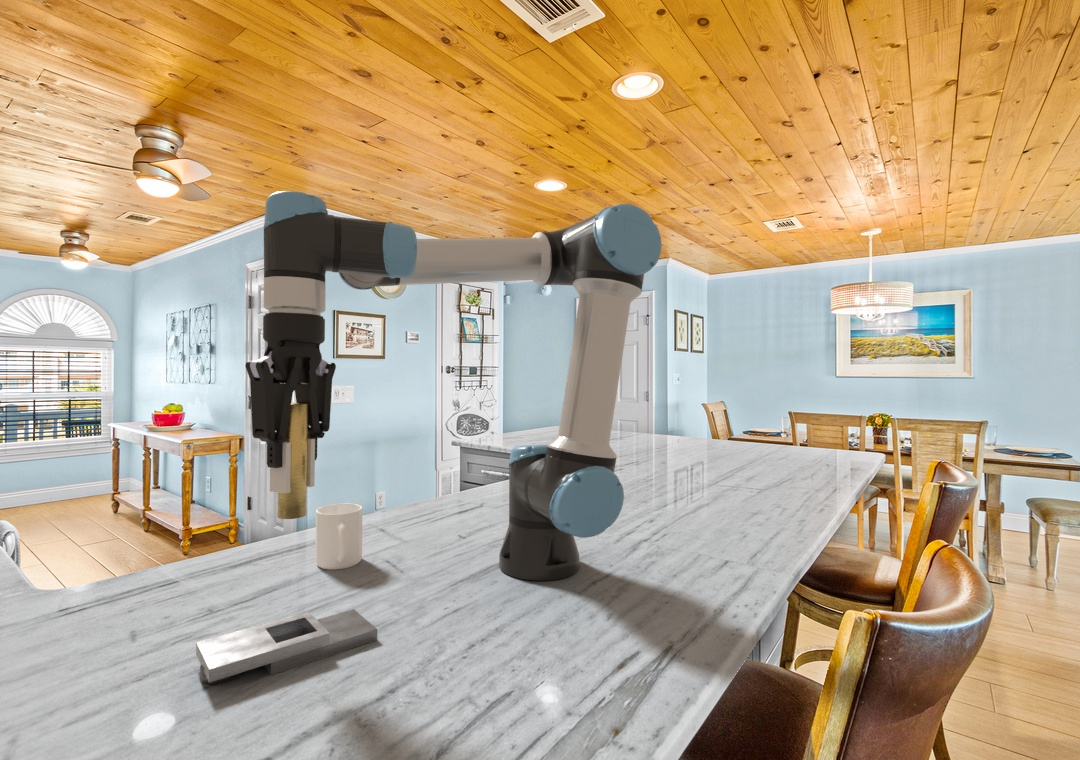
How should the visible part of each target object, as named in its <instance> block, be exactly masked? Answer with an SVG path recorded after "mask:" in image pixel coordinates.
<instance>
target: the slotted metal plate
mask: <svg viewBox="0 0 1080 760" xmlns="http://www.w3.org/2000/svg"><path fill="white" fill-rule="evenodd" d="M376 641H378V629H377V628H376V627H375V626H374V625H373V624H372V623H371V622H370V621H368V619H366V618H365V617H364V616H362V614H360V613H359V612H358V611H357V610H355V608H354V609H350V610H346V611H343V612H339V613H336V614H332V615H329V616H325V617H322V618H319V619H318V618H317V619H316V617H315V616H314V615H313V614H311V613H310V611H305V612H301V613H298V614H295V615H291V616H287V617H284V618H281V619H276V620H273V621H269V622H266V623H262V624H258V625H253V626H250V627H248V628H246V627H245V628H244V629H239V630H236V631H231V632H228V633H225V634H222V635H217V636H213V637H211V638H207V639H203V640H199V641H196V642H195V643H196V644H195V645H196V646H195V652H196V653H195V655H196V657H197V659H198V661H199V663H200V667H199V677H200V678H199V680H200V683H202V684H203V685H208V686H215V685H221V684H225V683H228V682H230V681H232V680H234V679H236V678H238V677H239V676H240V675H241V674H242V673H244V672H248V671H251V670H255V669H257V668H259V667H263V666H264V667H265V669H266V670H267V672H268V673H269V675H270V676H273V675H277V674H279V673H282V672H285V671H288V670H292V669H294V668H297V667H300V666H301V667H302V666H304V665H306V664H309V663H313V662H315V661H318V660H321V659H324V658H327V657H331V656H333V655H337V654H339V653H342V652H345V651H349V650H352V649H355V648H357V647H360V646H363V645H367V644H370V643H372V642H376Z"/></svg>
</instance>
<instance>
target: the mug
mask: <svg viewBox="0 0 1080 760" xmlns="http://www.w3.org/2000/svg"><path fill="white" fill-rule="evenodd" d="M362 557H363V506H362V505H360V504H356V503H344V502H343V503H333V504H327V505H323V506H320V507H318V508H317V509H316V510H315V563H316V565H317V566H318V567H319V568H320V569H323V570H328V571H329V570H330V571H331V570H333V571H335V570H336V571H337V570H344V569H348V568H352V567H355V566H356V565H358V564H359V563H360V562H361V560H362Z"/></svg>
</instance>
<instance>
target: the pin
mask: <svg viewBox="0 0 1080 760" xmlns="http://www.w3.org/2000/svg"><path fill="white" fill-rule="evenodd" d="M284 442H291V475H290V493H278V492H276V493H277V496H276V497H277V501H276V505H277V506H276V508H277V509H276V510H277V511H276V517H277V518H278V519H281V520H282V519H283V520H294V519H300V518H303V517H306V516H307V514H308V513H307V511H308V509H307V508H308V507H307V504H308V487H307V443H308V404H307V403H296V402H291V408H290V414H289V421H288V427H287V434H286V440H285V441H284Z"/></svg>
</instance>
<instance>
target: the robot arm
mask: <svg viewBox="0 0 1080 760" xmlns="http://www.w3.org/2000/svg"><path fill="white" fill-rule="evenodd" d="M328 213H329V210H327V204H326V202H325V200H323V199H322V198H321V197H319V196H316V195H314V194H308V193H306V192H303V191H296V190H294V191H293V190H281V191H276V192H274V193H271V194H270V195H268V197H267V199H266V201H265V208H264V221H263V223H264V224H263V308H264V309H265V310H268V312H267V313H264V315H263V317H262V339H263V340H264V342H266V343H267V344H266V349H265V351H264V354H263V357H260V358H258V359H257V360H247V361H246V362H245V369H246V372H247V375H248V377H249V384H250V385H249V386H250V406H251V410H250V411H251V430H252V431H251V433H252V434H251V435H252V437H253V439H259V440H260V441H261V442H265V443H266V466H267V468H269V492H272V493H277V492H278V493H290V475H291V442H284V441H285V440H286V434H287V427H288V421H289V414H290V408H291V403H292V401H293V400H292V399H293V393H294V395H295V403H307V404H308V443H307V488H312V487H315V478H316V477H315V474H316V472H315V466H316V465H315V464H316V461H317V458H318V439H323V438H325V434H326V432H329V430H330V426H331V411H332V410H331V409H332V408H331V407H332V388H333V377H334V375H335V372H336V368H337V367H336V366H337V365H336V363H334V362H327V361H326V360H325V359H323V357H322V352H321V350H320V346H321V344H323V343H324V342H325V338H326V333H325V332H326V319H325V318H324V316H322V315H321V314H322V313H324V312H325V311H326V272H331V273H338V275H339V277H340V279H341V280H342V282H343V283H345V285H347V286H348V287H349V288H352V289H355V290H361V291H362V290H363V291H365V290H371V289H373V288H375V287H393V286H410V285H411V286H413V285H414V286H415V285H434V284H435V285H437V284H440V285H441V284H460V283H461V284H462V283H464V284H465V283H484V282H485V283H488V282H492V283H493V282H510V281H511V282H512V281H513V282H518V281H533V282H534V283H535V284H536V285H538V286H572V287H573V288H574V289H575V290H576V292H577V293H578V295H579V297H578V298H579V299H578V305H577V311H576V318H575V322H574V323H575V325H574V329H573V330H574V331H573V335H572V336H573V337H572V344H571V351H570V357H569V363H568V371H567V375H566V376H567V377H566V383H565V387H564V395H563V402H562V409H561V413H560V414H561V415H560V422H559V428H558V434H557V436H556V437H555V438H554V439H552V440H551V441H550V442H548V444H531V445H530V444H529V445H528V444H527V445H516V446H514V447H513V448H512V449H511V450H510V453H509V454H510V455H509V462H508V468H509V470H508V473H509V475H508V476H509V477H508V479H509V480H508V481H509V485H508V486H509V487H508V490H509V491H508V495H509V496H508V497H509V498H508V503H509V504H508V515H509V516H508V528H507V531H506V533H505V537H504V538H503V542H502V545H501V548H500V552H499V555H498V556H499V557H498V558H499V559H498V560H499V563H498V566H499V569H500V571H502V572H503V573H504V574H506V575H507V576H510V577H513V578H516V579H519V580H520V579H521V580H525V581H542V582H543V581H555V580H560V579H564V578H568V577H571V576H572V575H575V574H576V573H577V572H578V571H579V570H580V553H579V550H578V547H577V546H578V545H577V542H576V539H575V537H577V538H584V539H585V538H592V537H595V536H598V535H600V534H602V533H603V532H605V531H606V530H607V529H608V528H609V527H611V526H613V525H614V523H615V522H616V521H617V519H618V518H619V515H620V514H621V512H622V509H623V505H624V499H625V492H624V487H623V485H622V483H621V482H620V479H619V477H618V476H617V475H616V473H615V469H616V463H617V454H616V453H615V451H614V450H613V448H612V447H611V445H610V439H611V434H612V427H613V421H614V413H615V408H616V401H617V400H616V399H617V394H618V389H619V388H618V387H619V380H620V375H621V366H622V362H623V355H624V348H625V342H626V335H627V328H628V322H629V316H630V309H631V303H632V302H633V301H634V300H635V299H637V298H638V297H640V296H641V295H642V290H643V285H644V278H645V274H646V273H648V272H650V271H651V270H652V269H653V268H654V267H655V266H656V265H657V263H659V262H658V261H659V260H660V257H661V254H662V246H663V245H662V238H661V233H660V229H659V228H658V226H657V224H656V223H655V222H654V221H653V217H652V216H651V215H650V214H649V213H648V212H646V211H645V210H644V209H643V208H641V207H639V206H637V205H635V204H631V203H619V204H616V205H612V206H606V207H605V208H603V209H601V210H600V211H599V212H597V213H596V214H594V215H592V216H590V217H588V218H585V219H583V220H580V221H579V222H577V223H574V224H572V225H570V226H567V227H564V228H561V229H557V230H552V231H537V232H535V233H534V235H532V237H499V238H498V237H497V238H496V237H495V238H494V237H491V238H488V237H485V238H484V237H480V238H479V237H478V238H477V237H476V238H417V235H416V232H415V230H414V228H412V227H411V226H409V225H405V224H399V223H395V222H392V221H388V222H387V221H378V220H377V221H376V220H369V219H362V218H350V217H344V216H343V217H342V216H337V215H336V216H335V215H333V214H328Z"/></svg>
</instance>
